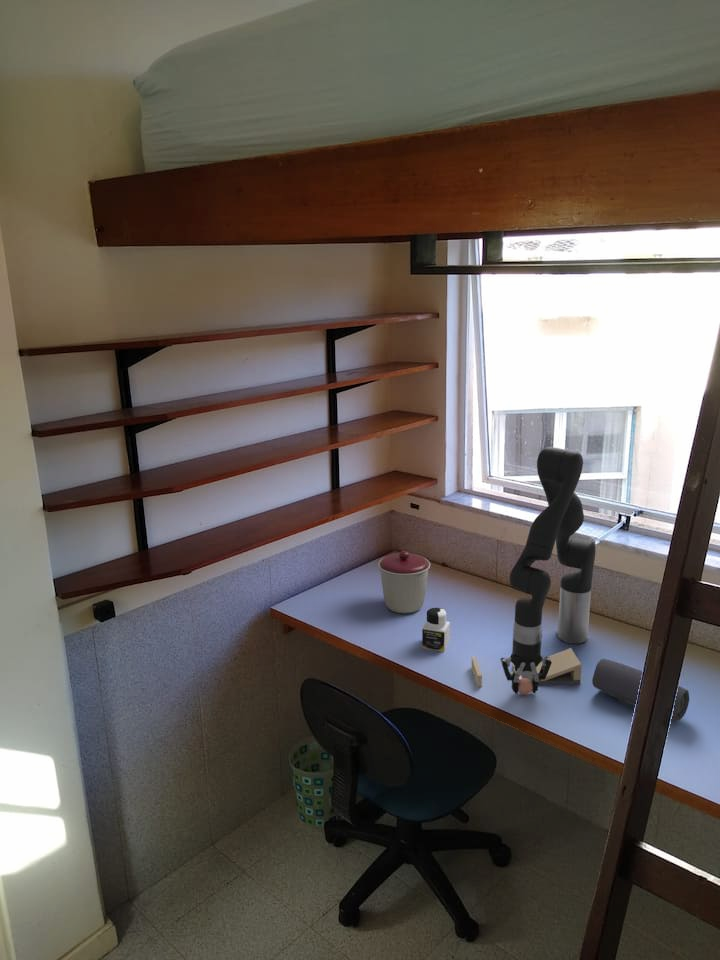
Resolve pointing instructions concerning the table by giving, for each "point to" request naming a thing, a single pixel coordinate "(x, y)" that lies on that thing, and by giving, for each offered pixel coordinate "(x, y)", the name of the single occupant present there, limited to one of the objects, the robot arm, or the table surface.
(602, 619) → the table surface
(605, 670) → the bluetooth speaker
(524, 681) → the ball
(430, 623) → the medicine bottle
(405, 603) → the canister
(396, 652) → the table surface
